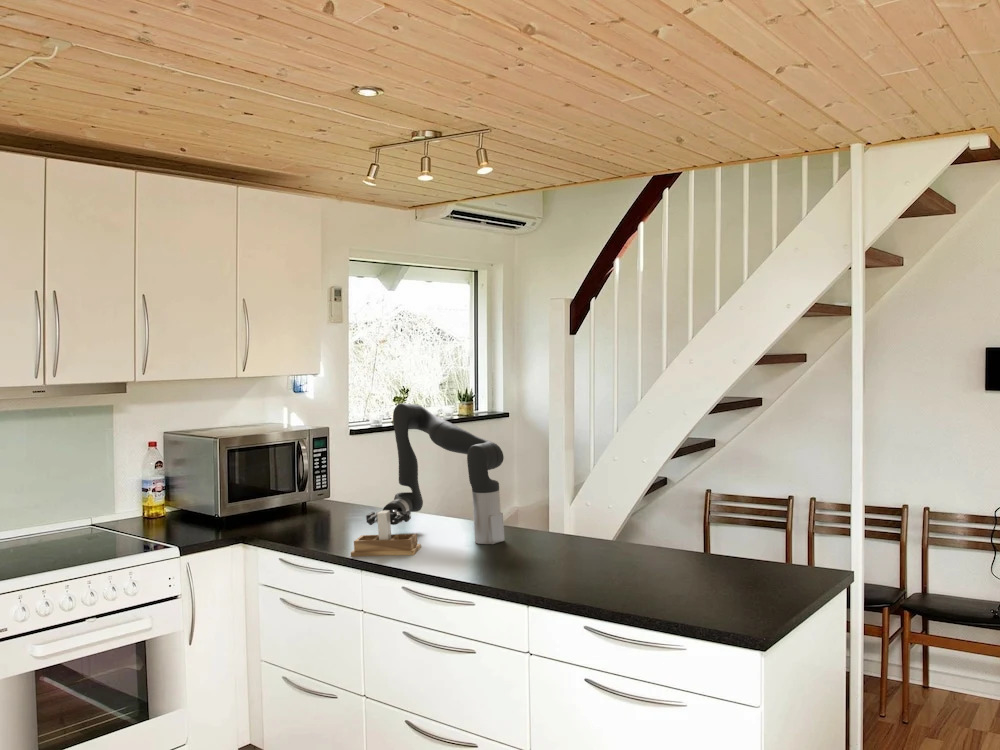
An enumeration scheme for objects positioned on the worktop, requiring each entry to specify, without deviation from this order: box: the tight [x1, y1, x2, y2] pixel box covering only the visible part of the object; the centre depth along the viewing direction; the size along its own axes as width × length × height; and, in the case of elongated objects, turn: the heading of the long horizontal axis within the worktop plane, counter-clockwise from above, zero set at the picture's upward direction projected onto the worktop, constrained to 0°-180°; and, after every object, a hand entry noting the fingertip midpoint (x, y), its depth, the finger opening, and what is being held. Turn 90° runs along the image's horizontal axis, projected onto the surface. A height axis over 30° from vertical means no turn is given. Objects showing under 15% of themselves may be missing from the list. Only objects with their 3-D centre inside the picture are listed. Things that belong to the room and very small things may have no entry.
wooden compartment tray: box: [350, 533, 422, 557], centre depth 283 cm, size 10×21×5 cm, turn 81°
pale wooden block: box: [376, 510, 392, 540], centre depth 283 cm, size 4×3×12 cm, turn 173°
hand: (382, 521), depth 281 cm, fingers open, 8 cm apart
